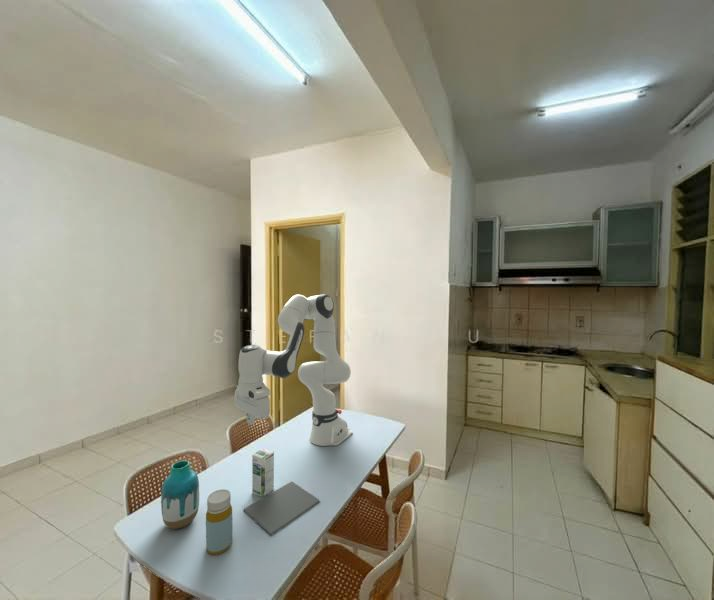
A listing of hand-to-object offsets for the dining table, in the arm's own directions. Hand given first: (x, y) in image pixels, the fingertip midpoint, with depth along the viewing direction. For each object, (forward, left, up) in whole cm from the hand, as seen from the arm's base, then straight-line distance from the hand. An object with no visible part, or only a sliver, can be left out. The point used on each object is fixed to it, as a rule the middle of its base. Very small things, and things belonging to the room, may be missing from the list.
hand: (251, 423), depth 120 cm
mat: (0, +20, -23) cm, 31 cm away
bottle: (+22, +20, -23) cm, 38 cm away
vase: (+26, +2, -23) cm, 35 cm away
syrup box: (0, +8, -23) cm, 25 cm away
